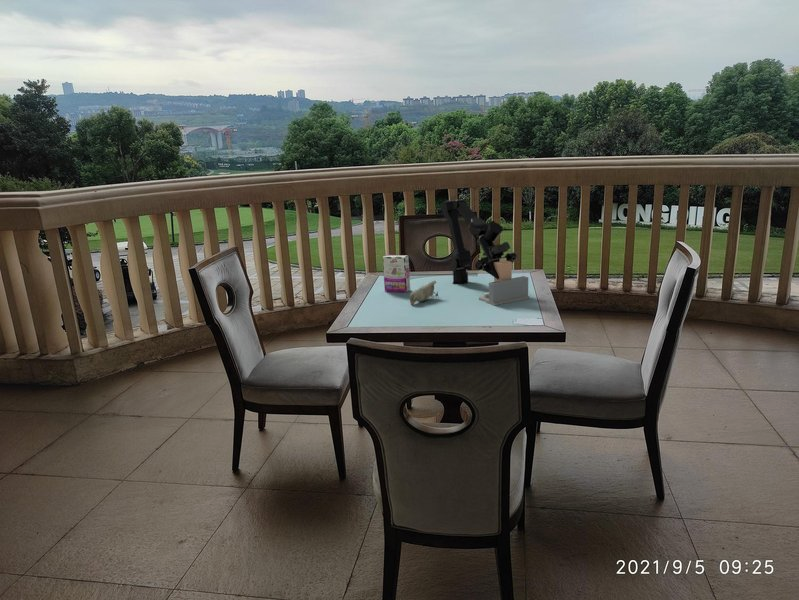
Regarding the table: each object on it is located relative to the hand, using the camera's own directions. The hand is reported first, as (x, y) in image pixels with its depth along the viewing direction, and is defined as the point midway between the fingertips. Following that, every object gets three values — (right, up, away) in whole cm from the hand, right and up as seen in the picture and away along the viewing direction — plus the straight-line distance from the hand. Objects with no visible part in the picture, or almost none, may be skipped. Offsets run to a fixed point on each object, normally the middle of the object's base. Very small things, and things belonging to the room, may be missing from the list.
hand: (504, 277), depth 226 cm
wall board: (0, -9, +4) cm, 9 cm away
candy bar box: (-45, -5, +24) cm, 51 cm away
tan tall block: (0, -6, +3) cm, 7 cm away
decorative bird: (-34, -10, +6) cm, 36 cm away
